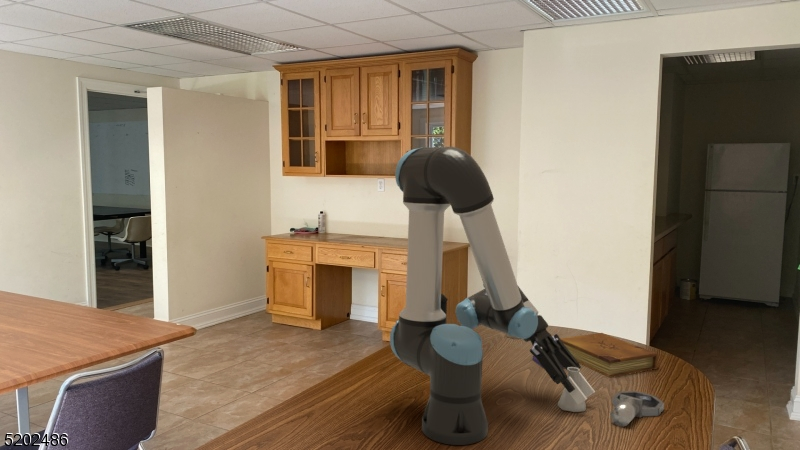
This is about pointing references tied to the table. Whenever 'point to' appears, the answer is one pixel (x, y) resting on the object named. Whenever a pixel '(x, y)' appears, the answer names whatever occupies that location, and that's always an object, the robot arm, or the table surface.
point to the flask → (566, 399)
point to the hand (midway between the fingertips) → (586, 398)
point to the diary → (610, 354)
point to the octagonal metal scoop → (634, 406)
